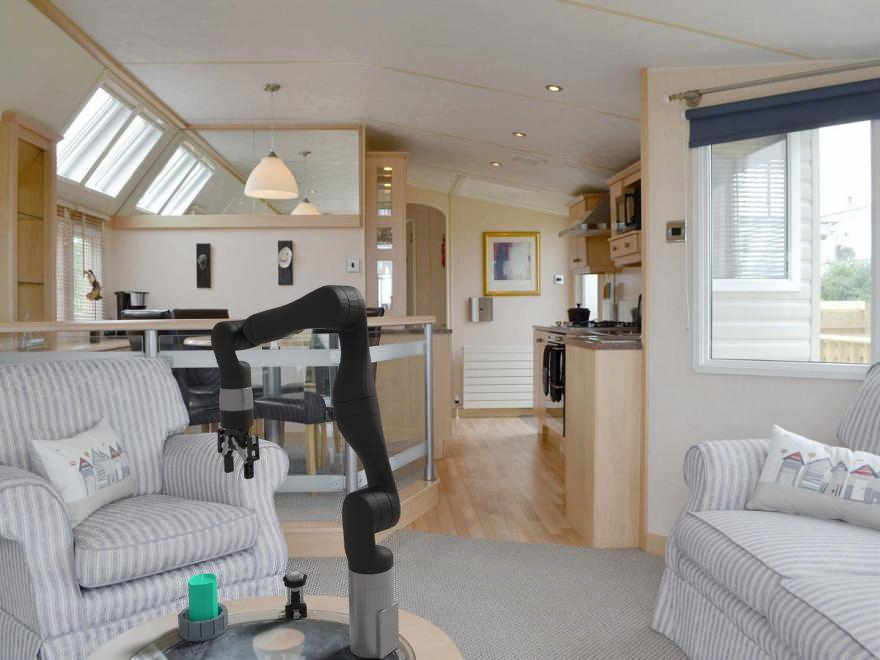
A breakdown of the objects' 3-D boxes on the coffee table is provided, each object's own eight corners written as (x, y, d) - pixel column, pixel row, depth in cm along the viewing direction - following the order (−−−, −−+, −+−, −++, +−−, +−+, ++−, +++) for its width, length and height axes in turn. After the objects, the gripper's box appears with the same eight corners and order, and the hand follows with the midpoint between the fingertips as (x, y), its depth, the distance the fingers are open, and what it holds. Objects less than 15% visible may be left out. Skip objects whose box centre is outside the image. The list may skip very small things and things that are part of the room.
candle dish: (237, 626, 165) (236, 609, 164) (200, 646, 156) (199, 627, 156) (206, 616, 170) (205, 598, 170) (169, 634, 162) (168, 616, 161)
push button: (278, 624, 166) (277, 579, 165) (277, 613, 171) (275, 570, 170) (309, 619, 168) (308, 576, 167) (306, 609, 173) (305, 567, 172)
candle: (204, 617, 167) (203, 564, 166) (224, 623, 164) (222, 569, 163) (183, 628, 162) (181, 574, 161) (203, 635, 159) (201, 579, 158)
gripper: (267, 407, 172) (270, 477, 173) (234, 401, 182) (236, 467, 183) (238, 412, 167) (241, 484, 168) (206, 405, 177) (208, 473, 178)
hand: (238, 475), depth 176 cm, fingers open, 8 cm apart
